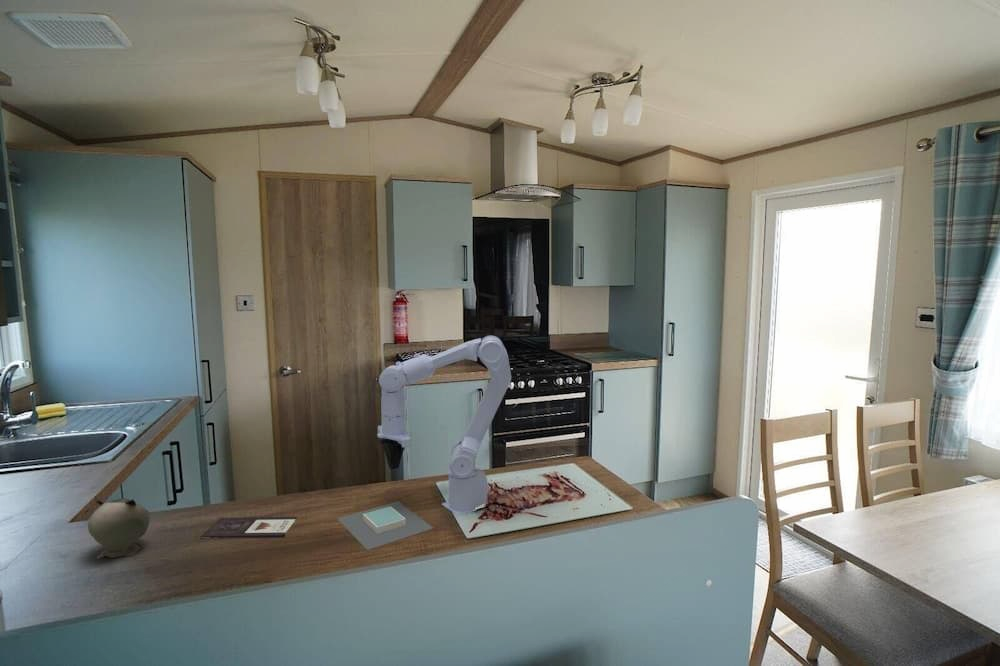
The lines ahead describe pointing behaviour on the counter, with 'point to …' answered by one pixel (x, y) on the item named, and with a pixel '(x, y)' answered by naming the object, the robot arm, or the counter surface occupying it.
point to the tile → (384, 520)
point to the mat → (374, 540)
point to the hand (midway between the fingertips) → (394, 467)
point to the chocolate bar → (250, 527)
